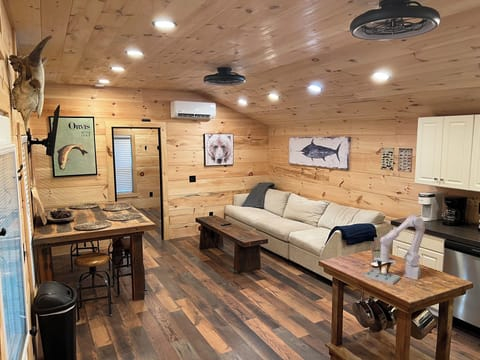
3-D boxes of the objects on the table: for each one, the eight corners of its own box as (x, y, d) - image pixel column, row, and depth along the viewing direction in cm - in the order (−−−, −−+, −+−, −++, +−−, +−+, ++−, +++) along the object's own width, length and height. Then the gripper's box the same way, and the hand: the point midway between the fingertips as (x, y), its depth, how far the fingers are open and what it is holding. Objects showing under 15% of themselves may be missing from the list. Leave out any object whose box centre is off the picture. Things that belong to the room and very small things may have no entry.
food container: (384, 259, 287) (385, 247, 286) (387, 261, 281) (387, 249, 280) (369, 258, 288) (369, 247, 287) (371, 261, 282) (371, 249, 281)
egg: (387, 273, 254) (387, 266, 253) (386, 275, 250) (386, 268, 249) (381, 272, 256) (381, 265, 255) (380, 274, 252) (380, 267, 252)
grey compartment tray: (400, 278, 249) (400, 276, 249) (392, 284, 239) (392, 282, 239) (372, 271, 263) (372, 268, 262) (364, 276, 253) (364, 274, 252)
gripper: (396, 253, 251) (395, 271, 252) (375, 250, 258) (374, 268, 260) (395, 256, 245) (394, 275, 246) (373, 253, 252) (372, 271, 254)
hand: (383, 271), depth 253 cm, fingers closed on egg, 4 cm apart
